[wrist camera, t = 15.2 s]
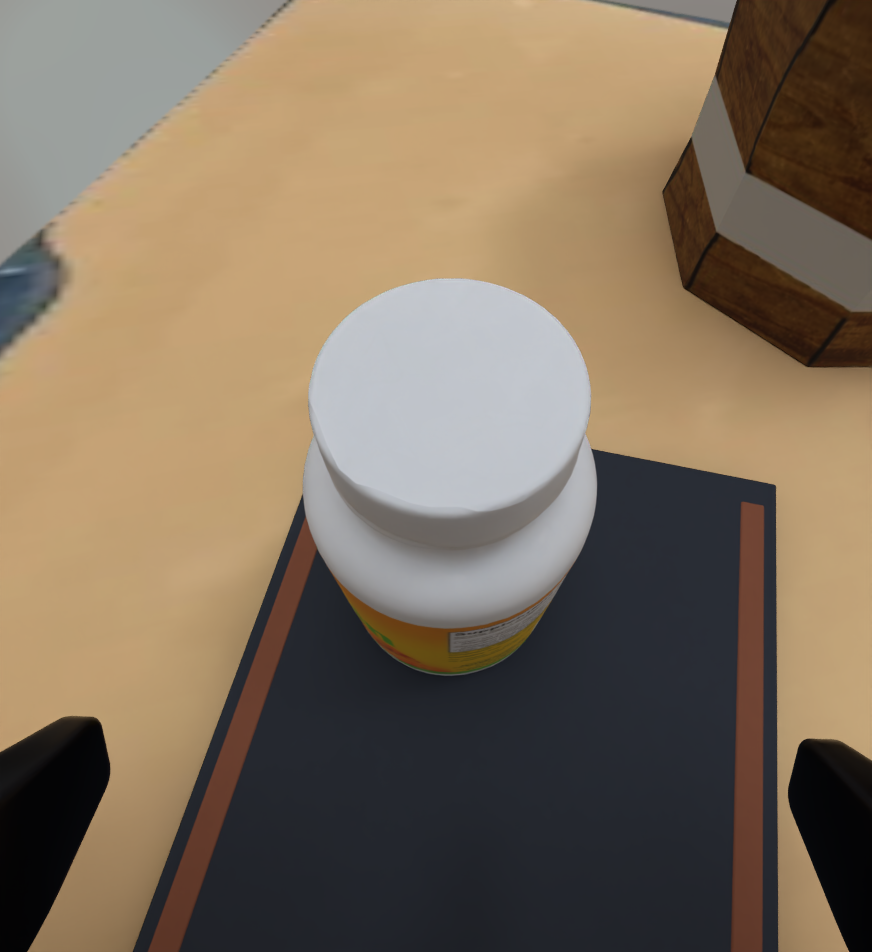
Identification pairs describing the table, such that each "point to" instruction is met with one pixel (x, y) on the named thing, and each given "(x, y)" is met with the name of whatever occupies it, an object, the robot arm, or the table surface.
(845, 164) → the mug
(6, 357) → the table surface
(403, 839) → the placemat
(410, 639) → the supplement bottle
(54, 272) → the table surface
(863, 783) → the robot arm
